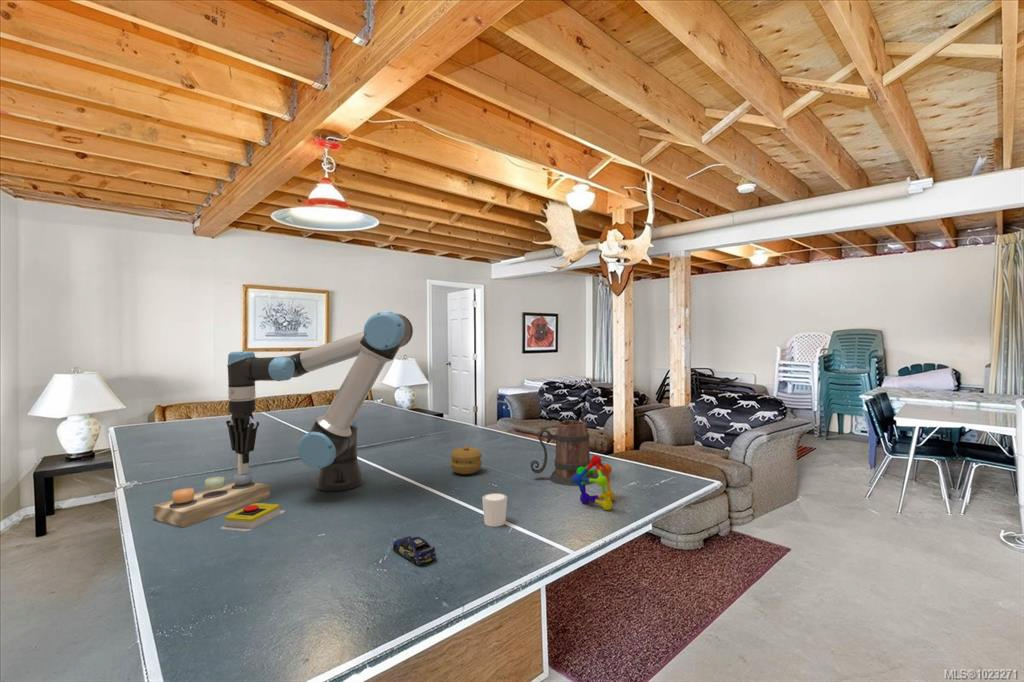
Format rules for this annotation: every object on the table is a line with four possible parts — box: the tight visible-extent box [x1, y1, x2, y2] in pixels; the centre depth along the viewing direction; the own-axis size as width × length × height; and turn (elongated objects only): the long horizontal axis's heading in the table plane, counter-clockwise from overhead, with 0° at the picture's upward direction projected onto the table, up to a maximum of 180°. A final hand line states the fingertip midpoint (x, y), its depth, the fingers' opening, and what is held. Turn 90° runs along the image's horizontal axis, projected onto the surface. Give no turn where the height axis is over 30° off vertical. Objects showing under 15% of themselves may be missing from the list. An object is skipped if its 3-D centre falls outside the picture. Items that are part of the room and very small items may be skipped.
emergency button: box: [219, 502, 286, 532], centre depth 132 cm, size 9×4×15 cm
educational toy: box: [573, 454, 615, 511], centre depth 140 cm, size 16×13×15 cm
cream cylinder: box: [481, 492, 508, 528], centre depth 127 cm, size 7×7×7 cm
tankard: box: [529, 419, 598, 487], centre depth 166 cm, size 24×17×20 cm
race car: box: [390, 535, 437, 566], centre depth 109 cm, size 15×7×4 cm, turn 49°
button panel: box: [153, 481, 271, 528], centre depth 142 cm, size 14×26×4 cm, turn 154°
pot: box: [450, 445, 483, 475], centre depth 176 cm, size 12×12×10 cm
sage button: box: [204, 475, 226, 490], centre depth 142 cm, size 5×5×3 cm
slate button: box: [233, 471, 253, 485], centre depth 150 cm, size 5×5×3 cm
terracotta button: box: [172, 487, 195, 503], centre depth 133 cm, size 5×5×3 cm
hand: (243, 473), depth 150 cm, fingers closed
